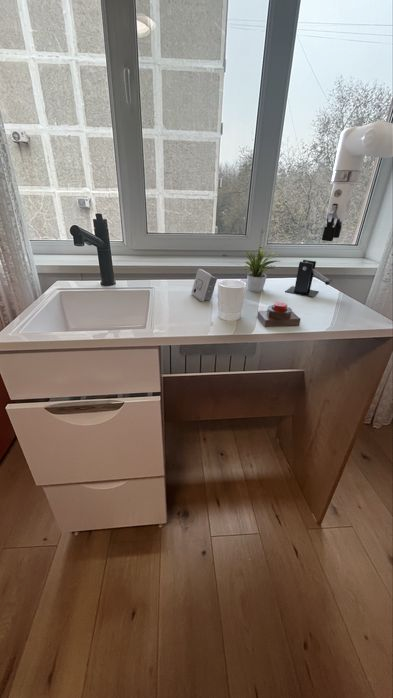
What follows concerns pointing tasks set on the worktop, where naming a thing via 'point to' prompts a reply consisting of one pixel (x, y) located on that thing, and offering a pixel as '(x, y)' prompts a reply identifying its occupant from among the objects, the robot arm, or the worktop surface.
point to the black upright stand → (304, 280)
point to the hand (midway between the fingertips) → (330, 239)
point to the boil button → (280, 306)
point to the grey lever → (321, 276)
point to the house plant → (258, 270)
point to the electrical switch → (203, 285)
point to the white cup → (230, 299)
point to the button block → (278, 318)
